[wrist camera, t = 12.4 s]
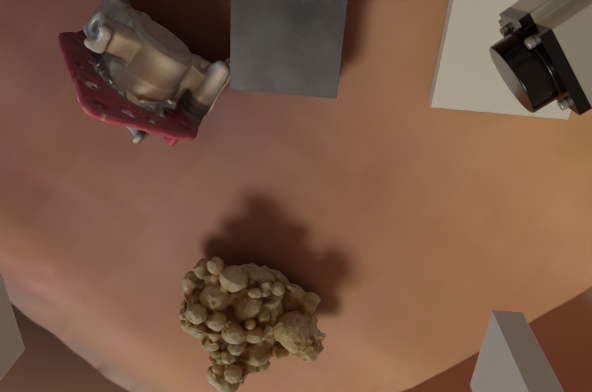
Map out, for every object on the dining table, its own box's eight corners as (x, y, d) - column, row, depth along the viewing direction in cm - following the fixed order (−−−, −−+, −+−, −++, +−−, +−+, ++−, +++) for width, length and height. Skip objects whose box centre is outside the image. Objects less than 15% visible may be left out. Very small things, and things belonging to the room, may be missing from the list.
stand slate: (239, -62, 33) (231, -64, 30) (352, -53, 33) (353, -54, 30) (237, 79, 38) (230, 89, 35) (336, 88, 37) (336, 98, 35)
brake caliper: (39, 98, 37) (-2, 46, 26) (126, 0, 40) (123, -87, 28) (159, 184, 40) (170, 170, 28) (233, 87, 42) (271, 39, 31)
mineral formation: (222, 358, 52) (149, 258, 45) (332, 312, 51) (274, 202, 44) (219, 421, 45) (132, 313, 38) (348, 369, 43) (281, 249, 37)
